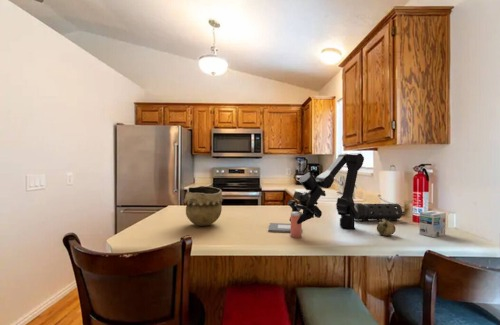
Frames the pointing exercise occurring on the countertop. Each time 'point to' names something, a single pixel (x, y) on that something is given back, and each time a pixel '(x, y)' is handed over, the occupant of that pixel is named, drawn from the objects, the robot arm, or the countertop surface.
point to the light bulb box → (432, 223)
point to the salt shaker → (295, 225)
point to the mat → (279, 227)
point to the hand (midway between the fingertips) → (293, 222)
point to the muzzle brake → (378, 211)
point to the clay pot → (203, 204)
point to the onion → (385, 228)
